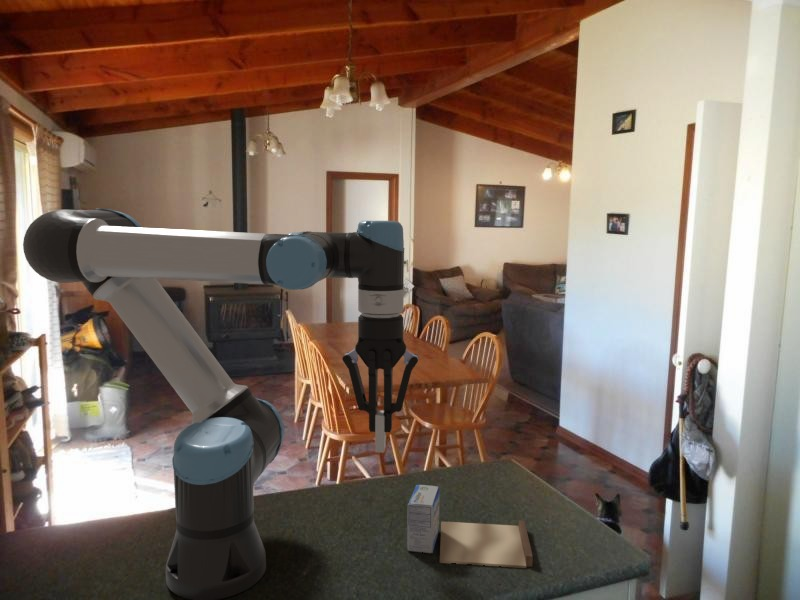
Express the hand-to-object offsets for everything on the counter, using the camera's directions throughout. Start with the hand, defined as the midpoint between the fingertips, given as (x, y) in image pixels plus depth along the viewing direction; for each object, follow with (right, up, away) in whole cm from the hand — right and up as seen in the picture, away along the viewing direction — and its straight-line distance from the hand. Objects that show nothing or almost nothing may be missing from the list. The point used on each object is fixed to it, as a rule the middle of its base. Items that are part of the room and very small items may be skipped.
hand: (380, 449), depth 107 cm
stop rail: (+25, -17, 0) cm, 30 cm away
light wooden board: (+17, -17, +1) cm, 24 cm away
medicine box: (+7, -17, +2) cm, 18 cm away
